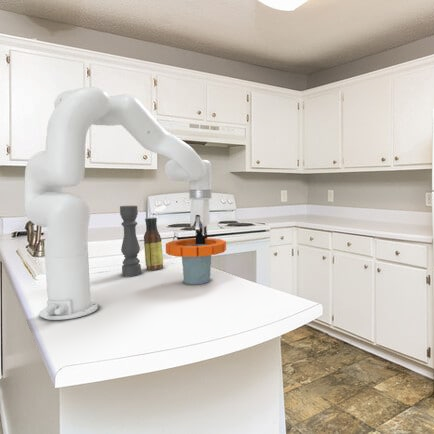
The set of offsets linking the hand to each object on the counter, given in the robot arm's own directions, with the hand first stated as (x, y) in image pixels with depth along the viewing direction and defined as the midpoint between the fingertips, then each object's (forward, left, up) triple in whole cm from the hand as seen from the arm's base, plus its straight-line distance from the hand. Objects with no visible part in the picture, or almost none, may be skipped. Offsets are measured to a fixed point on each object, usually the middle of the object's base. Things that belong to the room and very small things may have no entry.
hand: (201, 245), depth 146 cm
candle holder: (+3, +26, -11) cm, 28 cm away
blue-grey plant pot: (-8, 0, -11) cm, 14 cm away
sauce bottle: (+12, +21, -11) cm, 27 cm away
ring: (-8, 0, 0) cm, 8 cm away
